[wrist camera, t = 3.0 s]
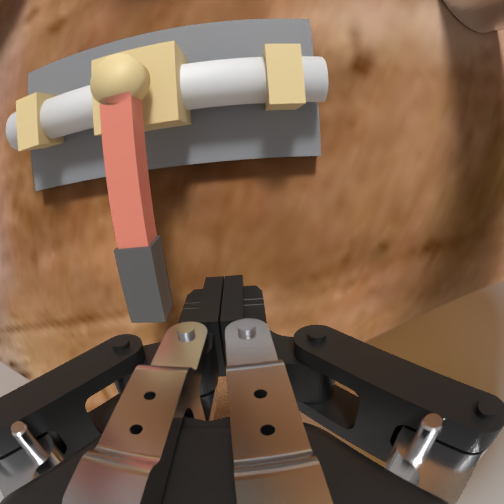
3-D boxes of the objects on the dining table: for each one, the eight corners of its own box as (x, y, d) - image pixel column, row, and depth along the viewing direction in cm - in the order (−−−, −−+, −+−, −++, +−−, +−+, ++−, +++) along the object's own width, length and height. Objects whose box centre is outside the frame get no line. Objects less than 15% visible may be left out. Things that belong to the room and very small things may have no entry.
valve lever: (104, 68, 16) (88, 60, 13) (150, 57, 16) (138, 46, 13) (136, 305, 21) (126, 322, 19) (178, 303, 21) (171, 321, 19)
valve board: (306, 25, 21) (325, -10, 14) (316, 155, 25) (342, 159, 18) (36, 75, 21) (-9, 65, 14) (43, 188, 25) (-2, 204, 18)
